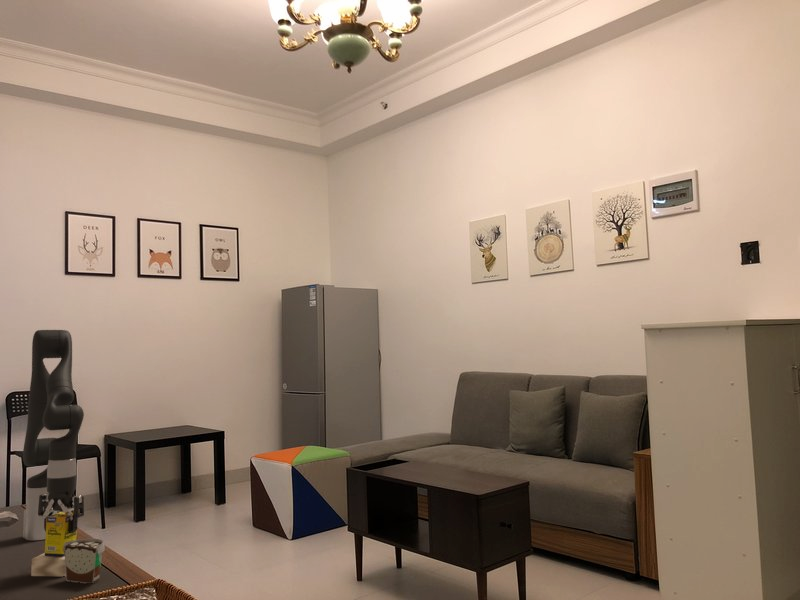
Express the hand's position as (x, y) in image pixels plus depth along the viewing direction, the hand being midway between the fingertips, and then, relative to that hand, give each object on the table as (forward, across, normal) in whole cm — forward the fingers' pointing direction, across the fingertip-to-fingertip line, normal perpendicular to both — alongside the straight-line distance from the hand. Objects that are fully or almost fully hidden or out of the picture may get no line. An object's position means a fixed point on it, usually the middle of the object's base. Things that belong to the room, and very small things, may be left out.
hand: (60, 531), depth 182 cm
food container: (+11, -14, +4) cm, 18 cm away
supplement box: (+6, 0, 0) cm, 6 cm away
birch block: (+11, 0, 0) cm, 11 cm away
